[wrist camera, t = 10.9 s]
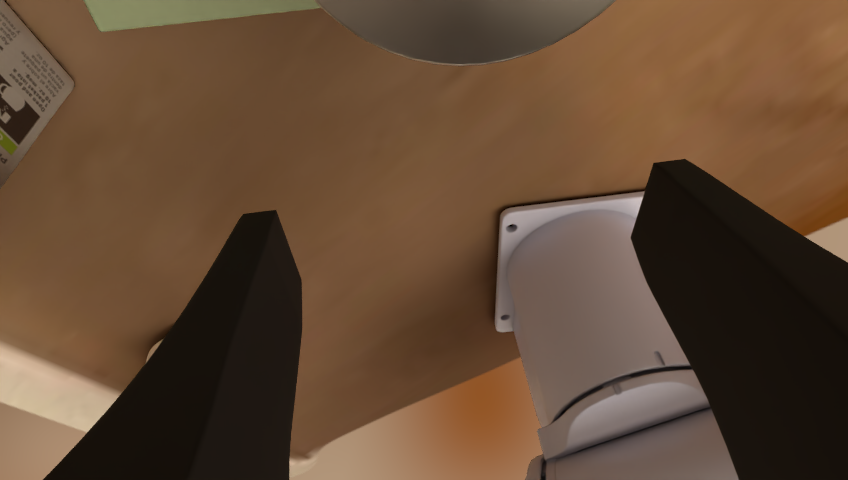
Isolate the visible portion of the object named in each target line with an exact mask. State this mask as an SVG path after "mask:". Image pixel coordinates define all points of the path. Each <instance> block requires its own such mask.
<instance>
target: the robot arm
mask: <svg viewBox="0 0 848 480" xmlns="http://www.w3.org/2000/svg"><path fill="white" fill-rule="evenodd" d="M511 224H514V225H513V226H510V227H508V226H509V225H511ZM495 327H496V330H497V331H498V332H510V331H514V333H515V337H516V341H517V344H518V348H519V352H520V356H521V359H522V363H523V367H524V370H525V374H526V377H527V381H528V385H529V389H530V392H531V396H532V399H533V403H534V407H535V411H536V414H537V417H538V420H539V422H540V425H541V427H542V428H540V429H538V431H537V432H538V436H539V440H540V444H541V447H542V451H543V454H542V455H540V456H537V457H535V458H534V459H532V460H531V462H530V464H529V467H528V470H527V476H526V479H525V480H848V263H847V262H846V261H844V260H842V259H841V258H839V257H837V256H836V255H833V254H832V253H831V252H829V251H827V250H825V249H823V248H822V247H820V246H819V245H817V244H815V243H814V242H812V241H810V240H809V239H807V238H806V237H804V236H802V235H801V234H799V233H798V232H796V231H794V230H793V229H791V228H790V227H788V226H787V225H785V224H783V223H782V222H780V221H779V220H777V219H776V218H774V217H773V216H771V215H770V214H768V213H767V212H765V211H764V210H762V209H761V208H759V207H758V206H756V205H755V204H753V203H752V202H750V201H749V200H747V199H746V198H744V197H743V196H741V195H740V194H738V193H737V192H735V191H734V190H732V189H731V188H729V187H728V186H726V185H725V184H723V183H722V182H720V181H719V180H717V179H716V178H714V177H713V176H711V175H710V174H708V173H707V172H705V171H704V170H702V169H700V168H699V167H697V166H696V165H694V164H692V163H691V162H689V161H687V160H686V159H682V160H674V161H666V162H658V163H654V164H653V167H652V170H651V173H650V177H649V180H648V183H647V186H646V189H645V191H643V192H635V193H627V194H618V195H610V196H602V197H594V198H586V199H577V200H569V201H561V202H553V203H544V204H536V205H528V206H520V207H511V208H508V209H506V210H504V211H503V212H502V213H501V215H500V227H499V247H498V267H497V287H496V306H495ZM301 335H302V282H301V277H300V275H299V272H298V269H297V266H296V264H295V261H294V258H293V255H292V253H291V250H290V247H289V244H288V242H287V239H286V236H285V233H284V231H283V228H282V225H281V222H280V220H279V217H278V214H277V211H276V210H271V211H263V212H255V213H247V214H243V215H242V216H241V218H240V219H239V220H238V222H237V224H236V226H235V227H234V229H233V231H232V232H231V234H230V236H229V238H228V239H227V241H226V243H225V245H224V246H223V248H222V250H221V251H220V253H219V255H218V256H217V258H216V260H215V261H214V263H213V265H212V266H211V268H210V270H209V271H208V273H207V275H206V276H205V278H204V279H203V281H202V283H201V284H200V286H199V287H198V289H197V290H196V292H195V293H194V295H193V297H192V298H191V300H190V301H189V303H188V304H187V306H186V308H185V309H184V311H183V312H182V313H181V315H180V316H179V318H178V319H177V321H176V322H175V323H174V325H173V326H172V328H171V329H170V331H169V332H168V333H167V335H166V336H165V338H164V339H163V340H162V342H161V343H160V345H159V346H158V347H157V349H156V350H155V352H154V353H153V354H152V356H151V357H150V358H149V360H148V361H147V362H146V363H145V365H144V366H143V367H142V369H141V370H140V371H139V373H138V374H137V375H136V376H135V378H134V379H133V380H132V381H131V383H130V384H129V385H128V386H127V387H126V389H125V390H124V391H123V392H122V393H121V395H120V396H119V397H118V398H117V400H116V401H115V402H114V403H113V404H112V406H111V407H110V408H109V409H108V410H107V411H106V412H105V414H104V415H103V416H102V417H101V418H100V419H99V420H98V421H97V422H96V424H95V425H94V426H93V427H92V428H91V429H90V430H89V431H88V432H87V434H86V435H85V436H84V437H83V438H82V439H81V440H80V441H79V443H78V444H77V445H76V446H75V447H74V448H73V449H72V450H71V451H70V452H69V453H68V454H67V455H66V456H65V457H64V458H63V460H62V461H61V462H60V463H59V464H58V465H57V466H56V467H55V468H54V469H53V470H52V471H51V472H50V473H49V474H48V475H47V476H46V477H45V478H44V479H43V480H289V456H290V441H291V429H292V420H293V411H294V401H295V392H296V383H297V374H298V365H299V355H300V345H301Z"/></svg>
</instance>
